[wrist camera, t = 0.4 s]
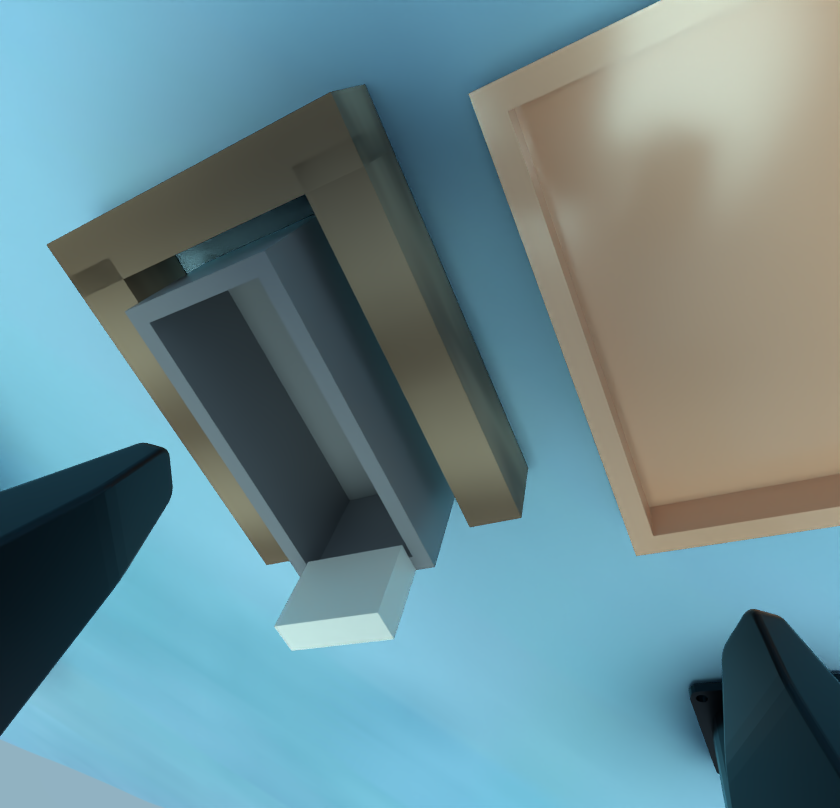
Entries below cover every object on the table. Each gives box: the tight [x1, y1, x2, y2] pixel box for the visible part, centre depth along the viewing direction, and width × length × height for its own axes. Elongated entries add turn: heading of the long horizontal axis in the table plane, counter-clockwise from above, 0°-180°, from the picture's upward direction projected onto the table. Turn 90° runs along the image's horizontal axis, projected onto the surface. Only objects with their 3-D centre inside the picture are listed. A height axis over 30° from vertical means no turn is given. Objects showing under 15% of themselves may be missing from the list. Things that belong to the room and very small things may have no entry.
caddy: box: [124, 214, 455, 651], centre depth 21 cm, size 12×6×8 cm, turn 25°
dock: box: [47, 84, 528, 565], centre depth 23 cm, size 15×12×3 cm
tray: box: [469, 0, 840, 556], centre depth 18 cm, size 17×10×2 cm, turn 25°
